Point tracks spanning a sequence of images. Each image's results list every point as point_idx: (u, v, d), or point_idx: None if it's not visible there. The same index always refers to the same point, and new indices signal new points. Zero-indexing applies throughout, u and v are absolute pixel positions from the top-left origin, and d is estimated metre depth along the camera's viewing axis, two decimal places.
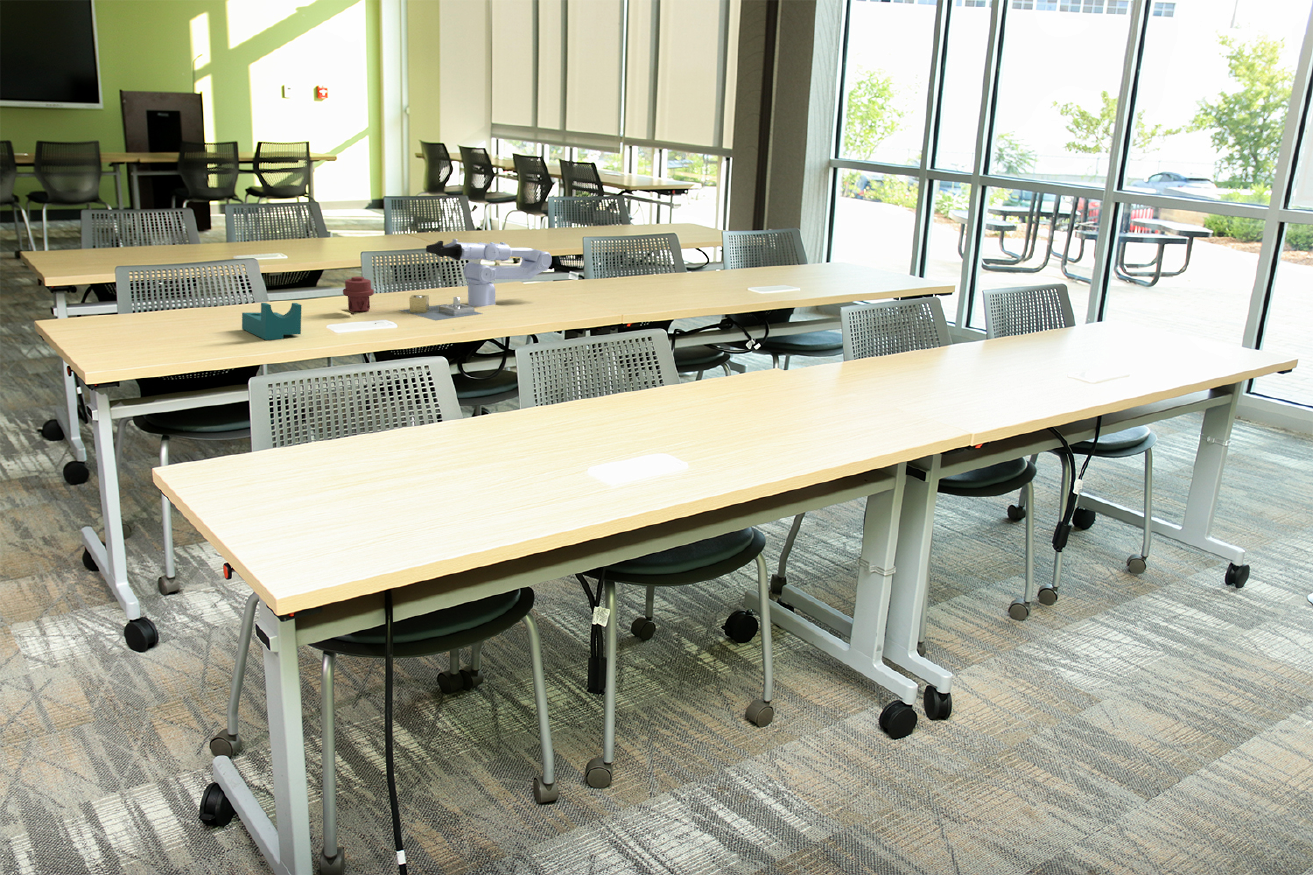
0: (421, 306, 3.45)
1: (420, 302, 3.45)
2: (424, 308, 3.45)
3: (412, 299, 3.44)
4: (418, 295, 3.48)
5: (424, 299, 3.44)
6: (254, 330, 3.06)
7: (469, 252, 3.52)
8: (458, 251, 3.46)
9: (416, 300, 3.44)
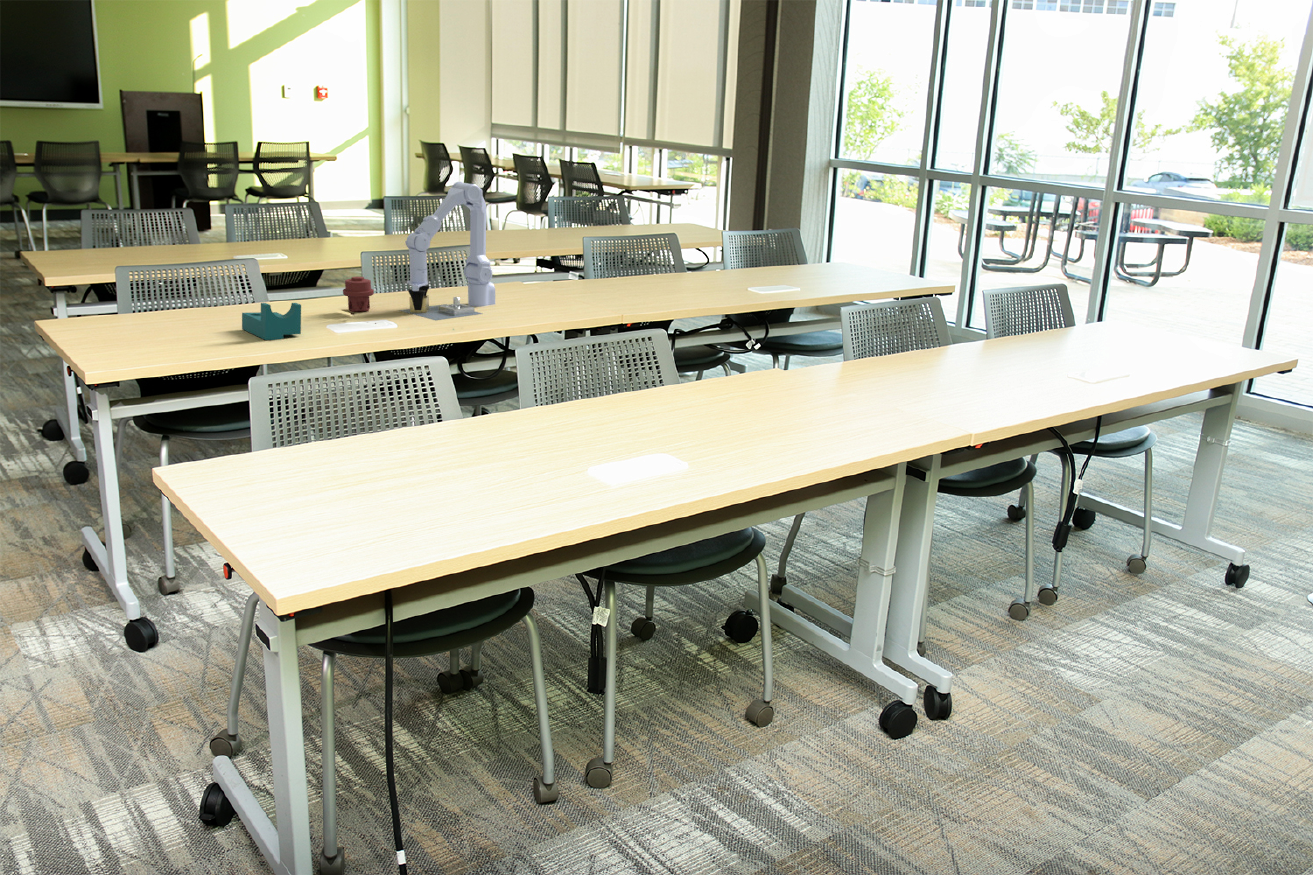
0: None
1: None
2: (424, 308, 3.45)
3: None
4: None
5: (424, 299, 3.44)
6: (254, 330, 3.06)
7: (417, 271, 3.41)
8: (415, 292, 3.42)
9: None
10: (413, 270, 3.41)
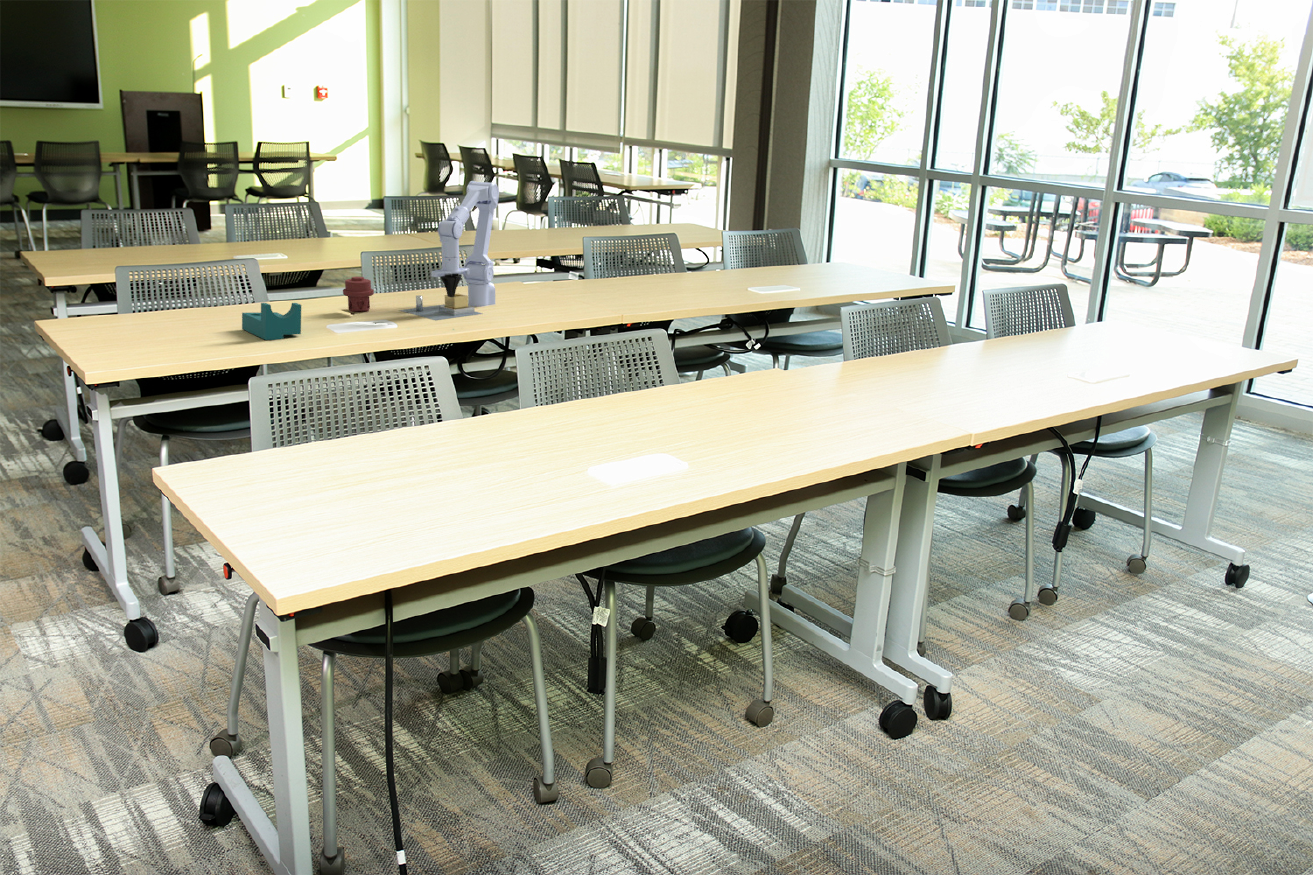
0: (451, 305, 3.46)
1: (451, 300, 3.45)
2: (453, 307, 3.45)
3: (446, 297, 3.47)
4: (418, 295, 3.48)
5: (453, 298, 3.44)
6: (254, 330, 3.06)
7: (443, 258, 3.40)
8: None
9: (448, 298, 3.46)
10: (442, 257, 3.41)
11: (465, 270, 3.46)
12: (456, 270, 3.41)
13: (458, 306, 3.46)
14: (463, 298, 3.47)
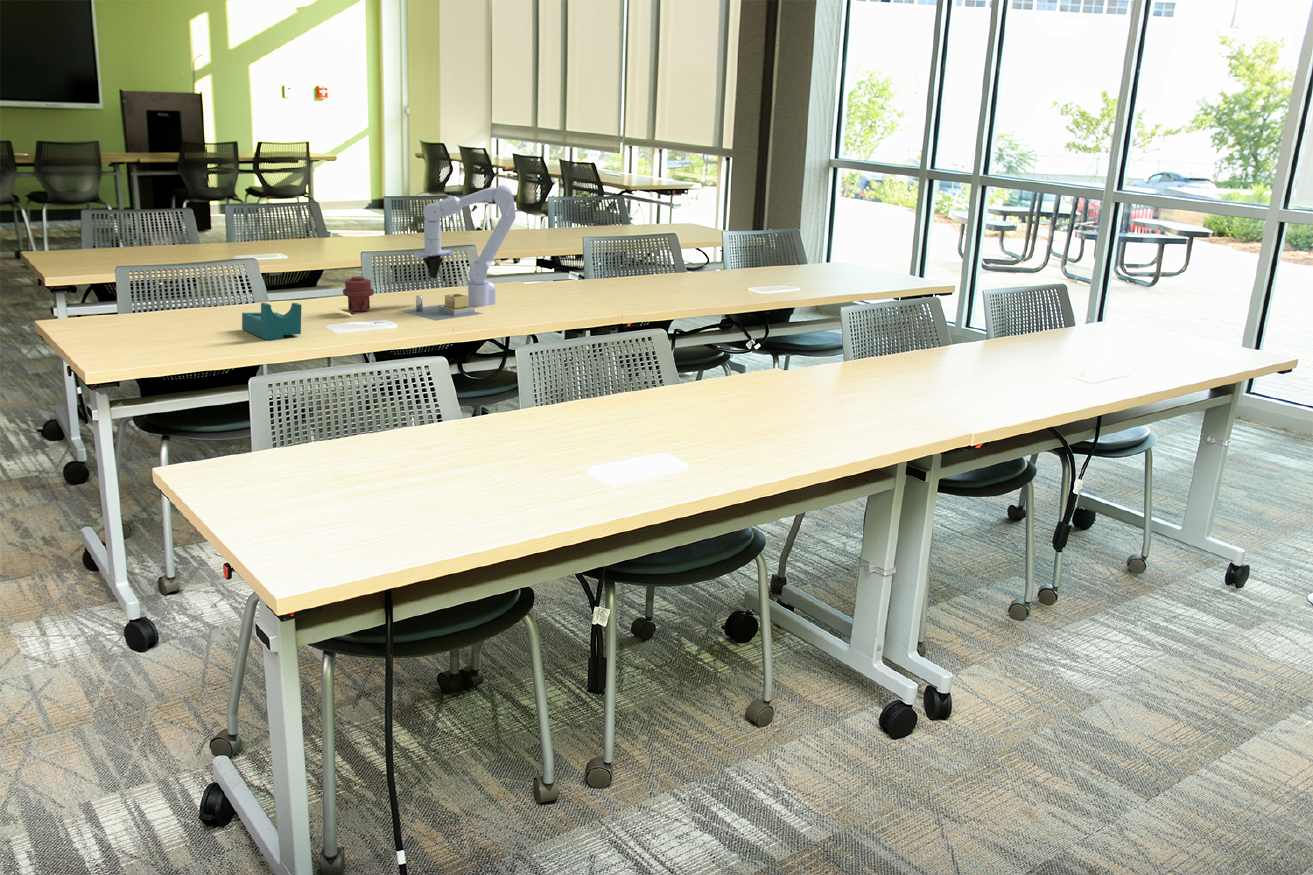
0: (451, 305, 3.46)
1: (451, 300, 3.45)
2: (453, 307, 3.45)
3: (446, 297, 3.47)
4: (418, 295, 3.48)
5: (453, 298, 3.44)
6: (254, 330, 3.06)
7: (426, 240, 3.53)
8: (428, 259, 3.56)
9: (448, 298, 3.46)
10: (424, 239, 3.54)
11: (447, 252, 3.59)
12: (438, 252, 3.55)
13: (458, 306, 3.46)
14: (463, 298, 3.47)
